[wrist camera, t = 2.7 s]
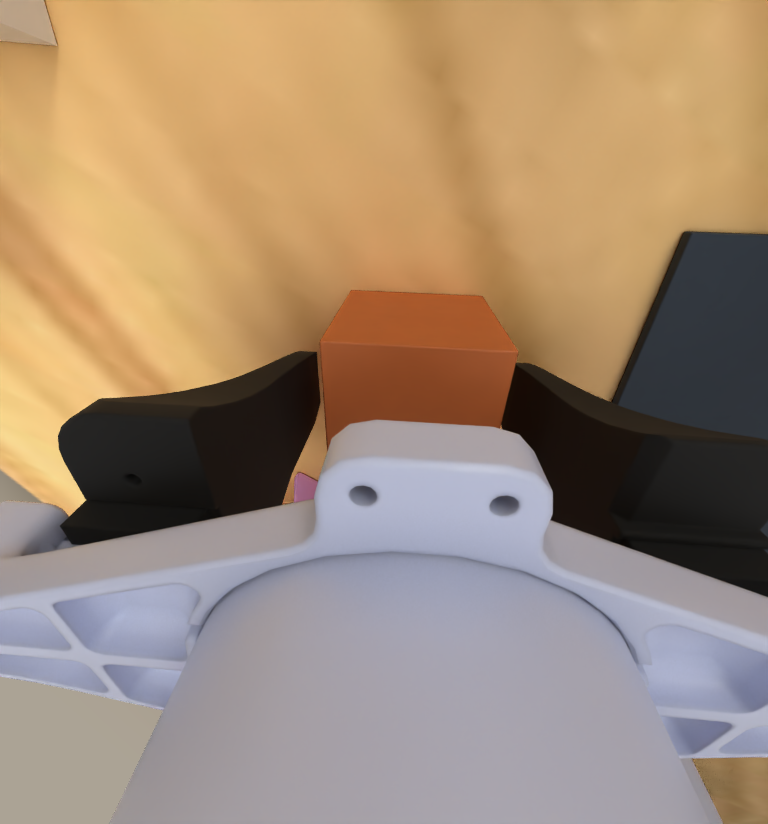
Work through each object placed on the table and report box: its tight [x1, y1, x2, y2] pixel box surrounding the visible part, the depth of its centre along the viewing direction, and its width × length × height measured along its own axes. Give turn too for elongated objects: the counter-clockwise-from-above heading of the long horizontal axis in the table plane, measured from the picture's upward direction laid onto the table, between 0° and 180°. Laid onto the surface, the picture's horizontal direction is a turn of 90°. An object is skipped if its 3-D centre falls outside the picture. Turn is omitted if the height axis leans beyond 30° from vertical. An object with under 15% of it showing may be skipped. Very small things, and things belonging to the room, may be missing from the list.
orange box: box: [320, 290, 518, 451], centre depth 12 cm, size 6×5×5 cm
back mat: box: [612, 231, 768, 553], centre depth 15 cm, size 18×12×1 cm, turn 178°
